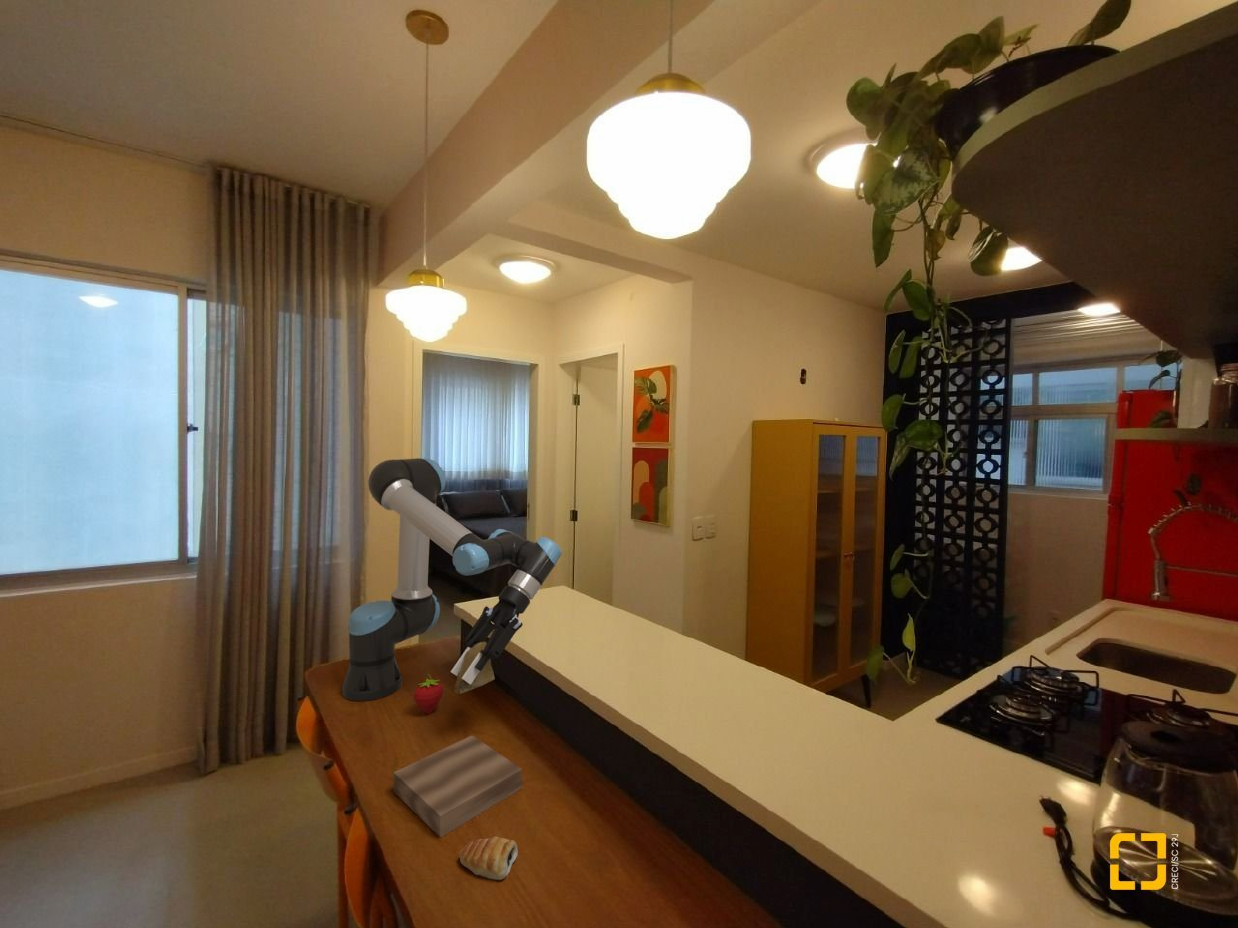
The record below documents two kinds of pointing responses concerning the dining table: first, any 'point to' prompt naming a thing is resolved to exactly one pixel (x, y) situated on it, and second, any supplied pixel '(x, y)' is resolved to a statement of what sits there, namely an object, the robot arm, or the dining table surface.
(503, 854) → the pastry
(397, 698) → the dining table surface
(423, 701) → the strawberry
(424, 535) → the robot arm
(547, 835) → the dining table surface
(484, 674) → the rock
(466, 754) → the walnut base
